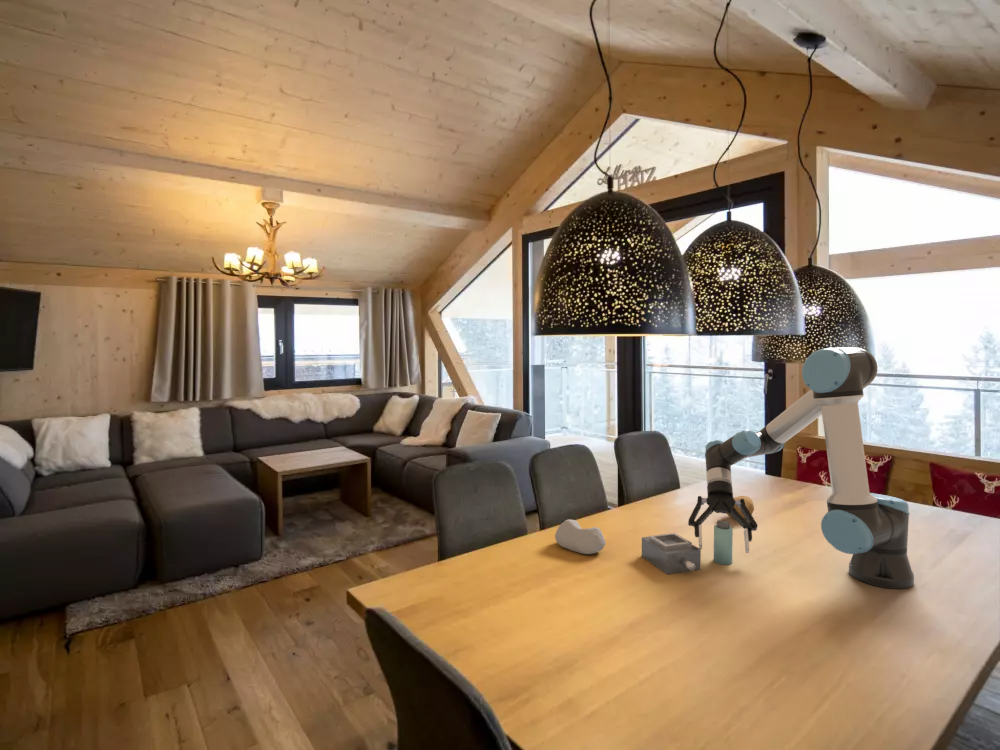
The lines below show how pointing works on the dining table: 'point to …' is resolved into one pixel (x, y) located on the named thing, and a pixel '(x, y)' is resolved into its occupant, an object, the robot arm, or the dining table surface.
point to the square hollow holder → (671, 553)
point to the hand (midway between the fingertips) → (723, 549)
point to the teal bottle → (723, 543)
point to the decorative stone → (579, 537)
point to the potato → (747, 502)
